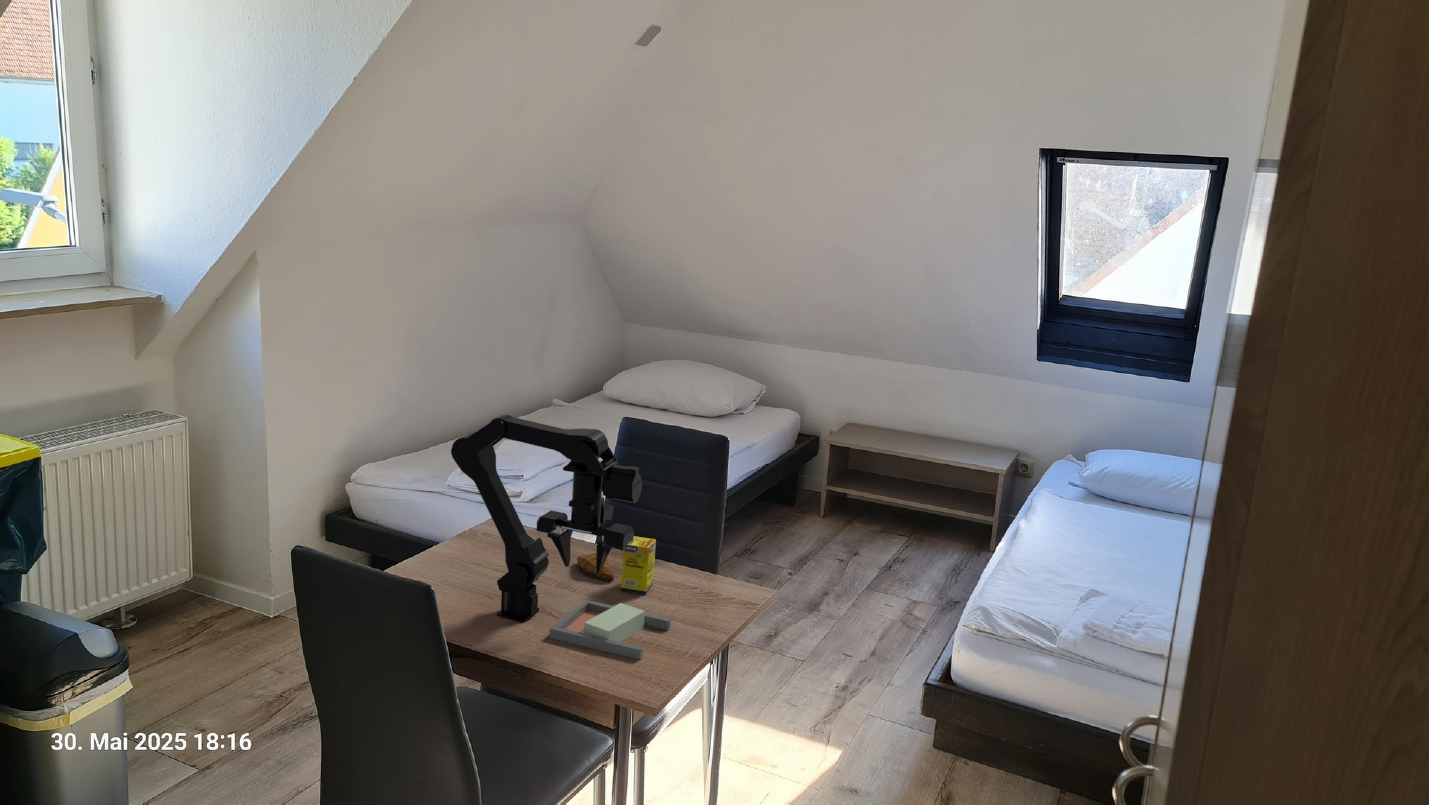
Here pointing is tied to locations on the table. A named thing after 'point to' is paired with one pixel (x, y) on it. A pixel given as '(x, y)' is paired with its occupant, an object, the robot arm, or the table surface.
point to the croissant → (589, 567)
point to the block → (616, 623)
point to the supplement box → (638, 565)
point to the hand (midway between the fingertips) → (583, 569)
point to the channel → (574, 626)
